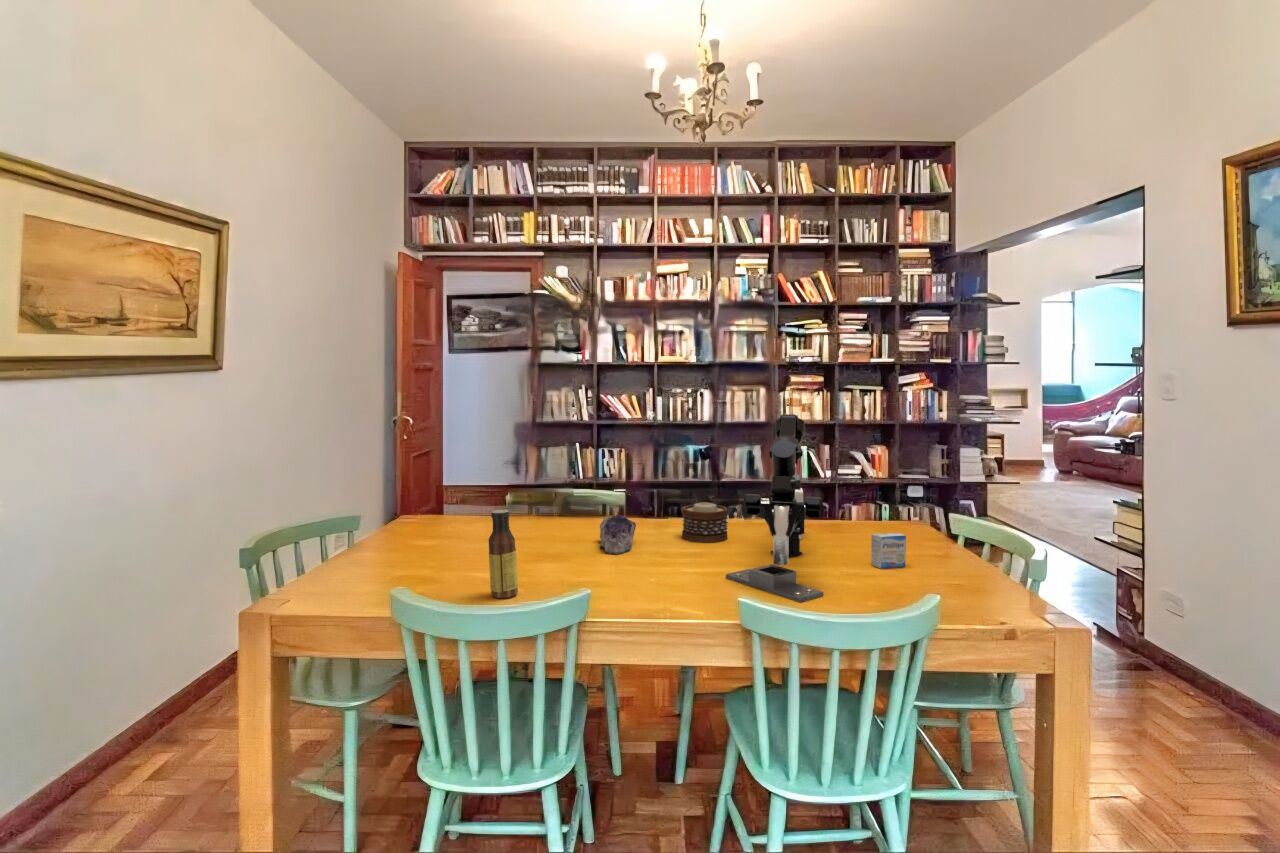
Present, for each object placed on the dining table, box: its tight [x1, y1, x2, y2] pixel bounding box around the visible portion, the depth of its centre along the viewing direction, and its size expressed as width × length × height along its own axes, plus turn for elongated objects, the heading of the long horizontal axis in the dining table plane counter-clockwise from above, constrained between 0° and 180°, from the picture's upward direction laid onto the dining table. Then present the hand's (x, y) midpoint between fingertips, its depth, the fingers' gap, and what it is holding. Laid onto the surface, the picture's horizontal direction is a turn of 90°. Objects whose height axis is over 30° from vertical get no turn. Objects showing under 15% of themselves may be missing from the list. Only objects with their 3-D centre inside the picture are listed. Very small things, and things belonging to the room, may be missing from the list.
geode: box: [599, 514, 637, 556], centre depth 210 cm, size 20×12×10 cm, turn 2°
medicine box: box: [870, 532, 907, 570], centre depth 189 cm, size 8×4×9 cm, turn 105°
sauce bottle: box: [487, 509, 519, 599], centre depth 163 cm, size 7×6×20 cm
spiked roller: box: [681, 501, 730, 544], centre depth 222 cm, size 15×11×15 cm
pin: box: [772, 504, 789, 566], centre depth 169 cm, size 4×4×14 cm
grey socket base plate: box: [725, 564, 824, 603], centre depth 171 cm, size 24×8×4 cm, turn 37°
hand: (780, 535), depth 168 cm, fingers closed on pin, 4 cm apart
